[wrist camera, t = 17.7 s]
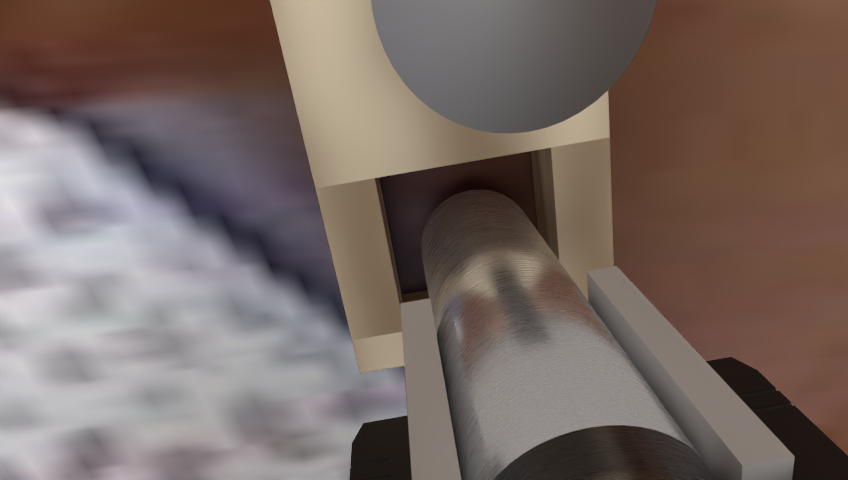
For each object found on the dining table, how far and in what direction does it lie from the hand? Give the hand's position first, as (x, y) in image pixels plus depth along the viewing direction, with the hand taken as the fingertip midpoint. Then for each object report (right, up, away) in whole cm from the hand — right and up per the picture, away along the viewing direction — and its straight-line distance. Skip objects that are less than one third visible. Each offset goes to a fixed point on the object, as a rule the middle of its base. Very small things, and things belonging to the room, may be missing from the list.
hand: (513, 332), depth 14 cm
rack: (-1, +7, +7) cm, 10 cm away
